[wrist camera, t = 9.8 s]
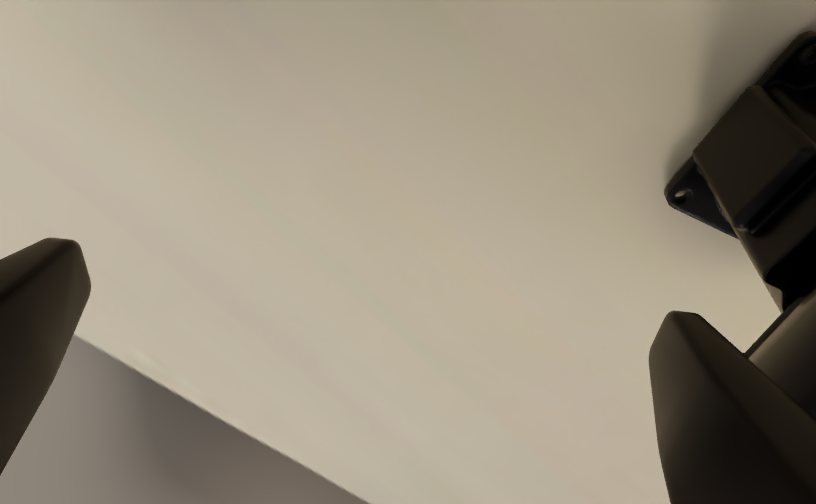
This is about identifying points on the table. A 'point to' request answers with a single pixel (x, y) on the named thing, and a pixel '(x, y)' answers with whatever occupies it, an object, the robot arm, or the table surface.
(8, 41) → the table surface
